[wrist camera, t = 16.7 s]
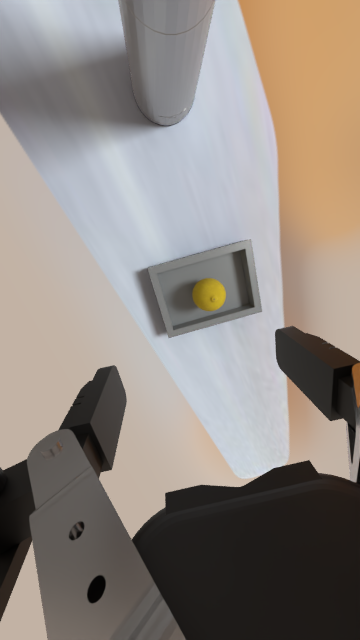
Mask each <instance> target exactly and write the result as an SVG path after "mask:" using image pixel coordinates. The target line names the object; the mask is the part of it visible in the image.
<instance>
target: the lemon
mask: <svg viewBox="0 0 360 640" xmlns="http://www.w3.org/2000/svg"><path fill="white" fill-rule="evenodd" d="M192 297H193V301H194V302H195V304H196V305H197V306H198V307H199V308H200V309H202V310H205V311H215V310H217V309H219V308H220V307H221V306H222V305H223V304H224V302H225V299H226V291H225V288H224V286H223V285H222V284H221V283H220V282H219V281H218V280H216V279H213V278H205V279H202V280H200V281H199V282H197V284H196V285H195V286H194V288H193V292H192Z"/></svg>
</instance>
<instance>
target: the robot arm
mask: <svg viewBox="0 0 360 640" xmlns="http://www.w3.org/2000/svg"><path fill="white" fill-rule="evenodd" d="M118 1H119V7H120V13H121V20H122V26H123V32H124V38H125V44H126V50H127V56H128V62H129V69H130V75H131V81H132V87H133V93H134V96H135V100H136V102H137V104H138V107H139V108H140V110H141V111H142V113H143V114H144V115H145V116H146V117H147V118H148V119H149V120H151V121H152V122H154V123H157V124H159V125H166V126H167V125H173V124H175V123H178V122H179V121H181V120H182V119H183V118H184V117H185V116H186V115H187V114H188V112H189V111H190V109H191V107H192V104H193V101H194V97H195V92H196V88H197V83H198V79H199V74H200V70H201V65H202V60H203V56H204V51H205V46H206V42H207V37H208V32H209V27H210V23H211V18H212V13H213V9H214V4H215V0H118ZM275 341H276V359H277V363H278V365H279V367H280V369H281V370H282V371H283V372H284V373H285V374H286V375H287V376H288V377H289V378H290V379H291V380H292V382H294V384H295V385H296V386H297V387H298V388H299V389H300V390H301V391H302V392H303V393H304V394H305V395H306V396H307V397H308V398H309V399H310V400H311V401H312V402H313V404H314V405H315V406H316V407H317V408H318V409H319V410H320V411H321V412H322V413H323V414H324V415H325V416H326V417H327V418H328V419H329V420H330V421H333V420H338V419H342V418H343V419H344V420H345V421H347V426H346V431H347V443H348V457H349V469H350V480H347V479H345V478H341V477H338V476H334V475H328V474H322V473H318V472H317V471H316V469H315V468H314V467H313V465H312V464H311V462H310V461H309V460H308V461H304V462H299V463H296V464H290V465H286V466H282V467H277V468H274V469H272V470H270V471H268V472H267V473H265V474H263V475H262V476H260V477H258V478H257V479H255V480H253V481H251V482H249V483H248V484H246V485H244V486H242V487H226V486H210V485H199V486H194V487H190V488H185V489H181V490H176V491H173V492H168V493H166V494H165V497H166V499H165V501H166V507H165V508H164V509H162V510H160V511H159V512H158V513H156V514H155V515H154V516H152V517H151V518H150V519H149V520H148V521H147V522H146V523H145V524H144V525H143V526H142V527H141V528H140V530H139V531H138V532H137V533H136V534H135V536H134V537H133V539H132V540H131V538H130V536H129V534H128V532H127V530H126V529H125V527H124V525H123V523H122V521H121V519H120V518H119V516H118V514H117V512H116V510H115V508H114V506H113V505H112V503H111V501H110V499H109V497H108V496H107V493H106V492H105V490H104V488H103V486H102V484H101V482H100V481H99V476H100V473H101V472H104V471H108V470H112V466H113V462H114V457H115V452H116V448H117V443H118V439H119V434H120V430H121V425H122V421H123V416H124V412H125V407H126V393H125V389H124V387H123V384H122V381H121V378H120V376H119V373H118V370H117V368H116V366H109V367H104V368H100V369H98V370H97V372H96V374H95V376H94V378H93V380H92V381H89V382H88V383H87V384H86V385H85V386H84V387H83V388H82V389H81V390H80V392H79V394H78V395H77V398H76V399H75V401H74V403H73V406H71V408H70V410H69V412H68V414H67V415H66V417H65V419H64V421H63V423H62V425H61V426H60V428H59V430H58V431H55V432H53V433H51V434H49V435H47V436H46V437H45V438H43V439H42V440H41V441H40V442H39V443H38V444H36V445H35V447H34V448H33V449H32V450H31V452H30V454H29V456H28V458H27V459H26V460H24V461H22V462H20V463H18V464H16V465H14V466H12V467H10V468H7V469H5V470H2V469H1V468H0V621H1V618H2V616H3V613H4V611H5V608H6V606H7V603H8V600H9V598H10V595H11V593H12V590H13V588H14V585H15V583H16V580H17V578H18V575H19V572H20V570H21V567H22V565H23V562H24V560H25V557H26V555H27V552H28V550H29V547H30V545H31V542H32V541H33V548H34V555H35V561H36V567H37V574H38V580H39V587H40V593H41V599H42V606H43V612H44V618H45V625H46V631H47V638H48V640H360V361H358V360H357V359H355V358H353V357H352V356H350V355H348V354H347V353H345V352H343V351H342V350H340V349H338V348H335V346H333V345H331V344H330V343H327V342H326V341H325V340H323V339H321V338H320V337H317V336H314V335H311V334H308V333H306V334H305V333H304V332H302V331H300V330H299V329H297V328H296V327H294V326H290V327H286V328H281V329H277V330H276V332H275Z"/></svg>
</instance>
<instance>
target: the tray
mask: <svg viewBox="0 0 360 640" xmlns="http://www.w3.org/2000/svg"><path fill="white" fill-rule="evenodd" d="M148 272H149V275H150V279H151V282H152V285H153V288H154V291H155V295H156V298H157V301H158V304H159V308H160V311H161V314H162V317H163V321H164V324H165V327H166V330H167V334H168V337H169V338H171V337H174V336H178V335H181V334H185V333H188V332H192V331H195V330H199V329H202V328H206V327H210V326H213V325H217V324H220V323H224V322H227V321H231V320H234V319H238V318H241V317H245V316H248V315H252V314H255V313H259V312H262V308H261V301H260V295H259V288H258V281H257V275H256V268H255V262H254V255H253V249H252V242H251V239H250V240H244V241H240V242H237V243H233V244H230V245H226V246H223V247H219V248H216V249H212V250H209V251H205V252H202V253H198V254H194V255H191V256H187V257H184V258H180V259H177V260H173V261H170V262H166V263H163V264H159V265H156V266H152V267H149V268H148ZM205 278H213V279H216V280H218V281H219V282H220V283H221V284H222V285H223V286H224V288H225V291H226V299H225V302H224V304H223V305H222V306H221V307H220V308H219V309H217V310H215V311H205V310H202V309H200V308H199V307H198V306H197V305H196V304H195V302H194V301H193V297H192V292H193V288H194V286H195V285H196V284H197V282H199V281H200V280H202V279H205Z"/></svg>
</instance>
